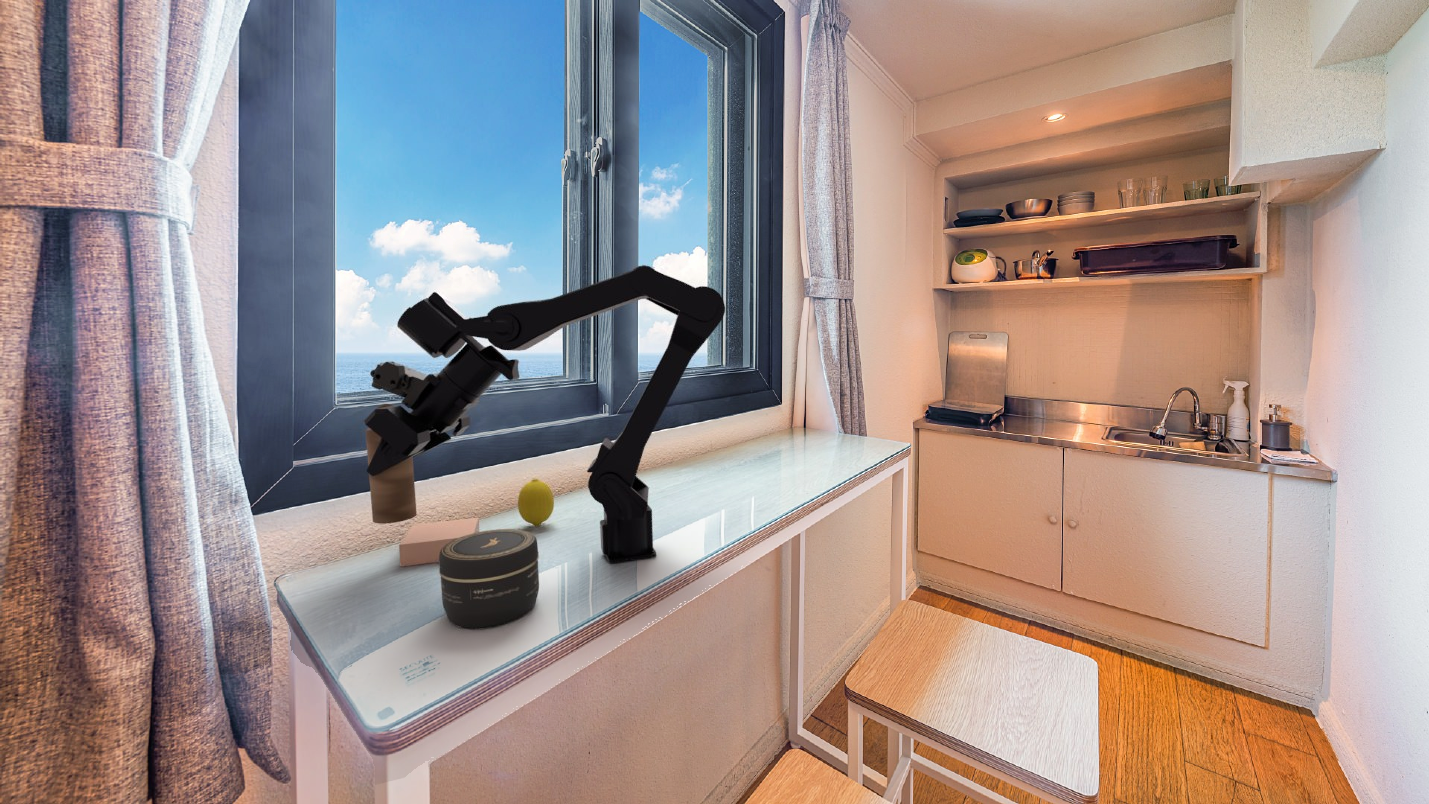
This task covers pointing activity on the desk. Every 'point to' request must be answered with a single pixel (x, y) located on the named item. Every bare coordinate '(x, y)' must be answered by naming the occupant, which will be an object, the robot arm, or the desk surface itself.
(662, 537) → the desk surface
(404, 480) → the pepper mill
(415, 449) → the robot arm
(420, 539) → the pink block base
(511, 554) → the jar
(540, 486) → the lemon
